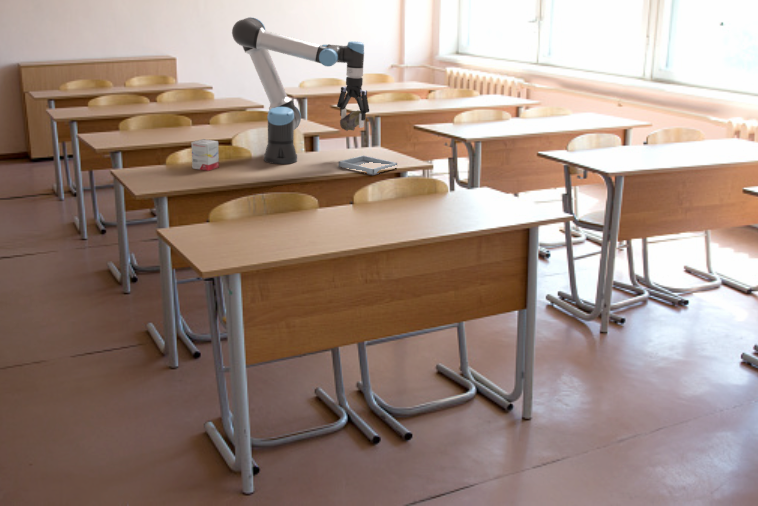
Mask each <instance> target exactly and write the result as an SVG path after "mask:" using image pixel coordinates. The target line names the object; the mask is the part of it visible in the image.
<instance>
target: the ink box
mask: <svg viewBox="0 0 758 506" xmlns="http://www.w3.org/2000/svg"><path fill="white" fill-rule="evenodd" d="M190 143H191V163H192V164H191V165H192V169H195V170H201V171H212V170H214V169H218V168H220V160H219V159H220V158H219V141H218V140H211V139H205V138H202V139H199V140H195V141H191V142H190Z"/></svg>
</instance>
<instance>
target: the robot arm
mask: <svg viewBox="0 0 758 506" xmlns="http://www.w3.org/2000/svg"><path fill="white" fill-rule="evenodd" d="M231 34H232V35H231V36H232V37H233V40H234V41H235V43H236V44H237V45H239V46H241V47H242V48H243V51H244V53H246V54H247V55H249V57H250V59H251V61H252V63H253V66H254V69H255V71H256V73H257V75H258V77H259V80H260V82H261V84H262V87H263V89H264V92H265V95H266V96H267V99H268V102H269V107H268V111H267V116H266V117H267V145H266V149H265V153H264V155H263V161H264V162H266V163H270V164H275V165H276V164H277V165H288V164H289V165H290V164H294V163H297V162H298V154H297V153H296V147H295V145H294V144H295V143H294V139H295V138H294V132H295V130H296V129H298V127H299V125H300V123H301V121H302V115H301V111H300V110H299V108H298V107H296V106H295V105H296V104H295V103H294V101H293V100H294V99H292V98H290V97H289V96H288V94H287V92H286V90H285V88H284V85H283V83H282V80H281V78H280V76H279V73H278V71H277V68H276V66H275V64H274V61H273V58H272V56H271V54H270V51H272V52H277V53H281V54H284V55H288V56H292V57H296V58H299V59H303V60H306V61H307V60H308V61H309V62H315V63H319V64H321V65H322V66H324V67H332V66H335V64H336V63H341V64H346V78H345V85H346V86H341V87H340V93H339V96H338V101H337V104H336V107H337V108H339V109H340V110H339V111H340V112H339V115H340V120H341V119H343V118H344V117H345V116H346V115H347V107H348V106H347V105H348V104H349V102H350V100H351V99H352V98H353V99H354V100H355V101H356V103H357V106H358V108H359V111H361V113H359V125H358V128H361V129H362V128H365V127H364V126H365V121H366V114H367V113H370V107H369V101H368V90H366V89H365V90H364V89H362V87H363V83H364V81H363V79H364V78H363V76H364V61H365V60H364V59H365V44H364V42H361V41H351V40H350V41H348V42H347V45H337V44H322V45H320V44H318V43H313V42H309V41H305V40H302V39H298V38H295V37H292V36H291V37H290V36H286V35H283V34H280V33H276V32H272V31H268V30H266V27H265V24H264V23H263V22H262V21H261V20H260V19H258V18H255V17H251V16H250V17H245V18H243V19H240V20H238V21H236V22H235V23H234V24H233V26H232V29H231Z"/></svg>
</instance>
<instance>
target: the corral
mask: <svg viewBox="0 0 758 506" xmlns="http://www.w3.org/2000/svg"><path fill="white" fill-rule="evenodd" d="M369 162H373V163H381V164H389V165H385V166H381V167H377V168H374V169H372V168H367V167H363V166H362V165H361V164H363V163H364V164H365V163H369ZM359 165H361V166H359ZM365 165H366V164H365ZM395 165H397V166H398V162H394V161H390V160H386V159H381V158H376V157H373V156H372V157H371V156H367V155H359V156H355V157H352V158H351V157H350V158H347V159H343V160H339V161H338V168H340V167H342V168H341V169H344V168H349V169H356V170H362V171H366V172H367V174H366V175H370V176H375V175H379V173H377V172H378V171H379V170H381V169H385V168H388V167H392V166H395Z"/></svg>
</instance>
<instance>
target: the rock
mask: <svg viewBox="0 0 758 506" xmlns="http://www.w3.org/2000/svg"><path fill="white" fill-rule="evenodd" d="M359 113H361V111H360V109H359V110H351V112H350V113H348V114H346V116H345V117H344V118H343V119H341V118H340V121H339V124H340V127H341V129H342V130H344V131H346V132H348V131H355V129H356V127H358V126H359Z"/></svg>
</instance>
